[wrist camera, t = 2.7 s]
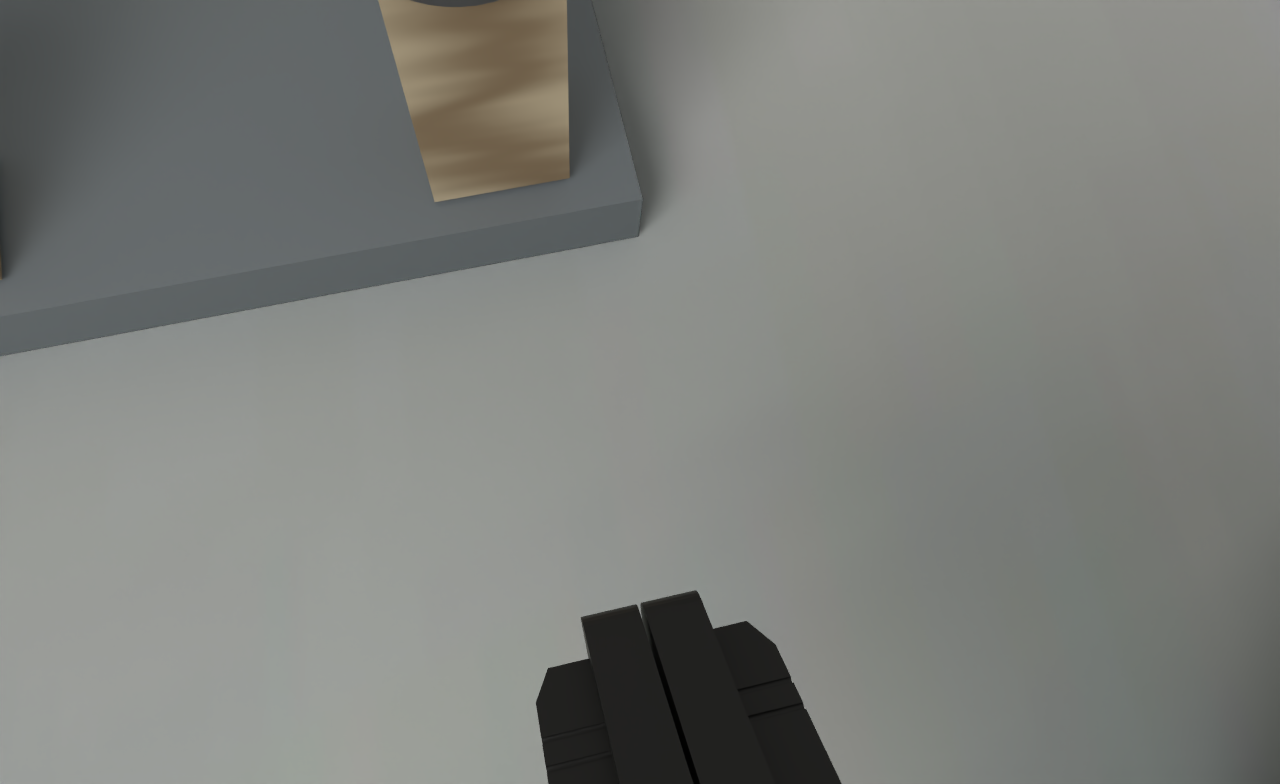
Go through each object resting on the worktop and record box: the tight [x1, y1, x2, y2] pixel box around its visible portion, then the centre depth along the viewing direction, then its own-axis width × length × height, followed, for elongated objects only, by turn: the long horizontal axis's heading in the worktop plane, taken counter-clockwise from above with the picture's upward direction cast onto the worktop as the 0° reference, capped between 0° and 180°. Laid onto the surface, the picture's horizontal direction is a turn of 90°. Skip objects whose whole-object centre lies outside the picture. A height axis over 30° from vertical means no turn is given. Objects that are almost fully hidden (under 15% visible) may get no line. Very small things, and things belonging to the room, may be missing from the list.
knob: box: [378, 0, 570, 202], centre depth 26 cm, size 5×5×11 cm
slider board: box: [0, 0, 643, 356], centre depth 29 cm, size 24×13×10 cm, turn 103°
